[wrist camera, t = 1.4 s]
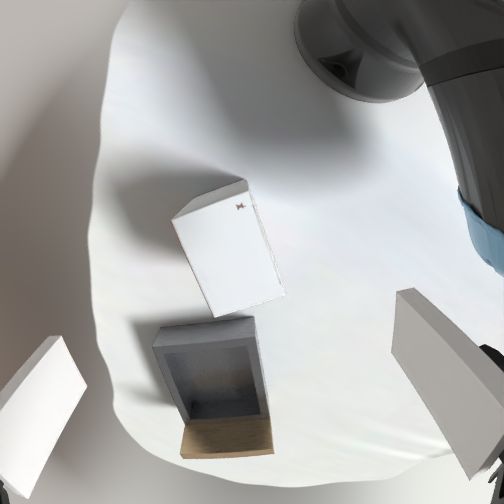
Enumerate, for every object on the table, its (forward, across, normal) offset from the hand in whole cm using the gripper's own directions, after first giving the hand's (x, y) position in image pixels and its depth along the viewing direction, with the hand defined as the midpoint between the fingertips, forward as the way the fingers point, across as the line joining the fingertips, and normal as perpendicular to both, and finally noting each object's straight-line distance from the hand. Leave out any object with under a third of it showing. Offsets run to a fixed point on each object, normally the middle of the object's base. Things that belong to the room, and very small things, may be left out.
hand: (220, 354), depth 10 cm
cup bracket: (+20, -5, -17) cm, 27 cm away
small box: (+21, 0, 0) cm, 21 cm away
